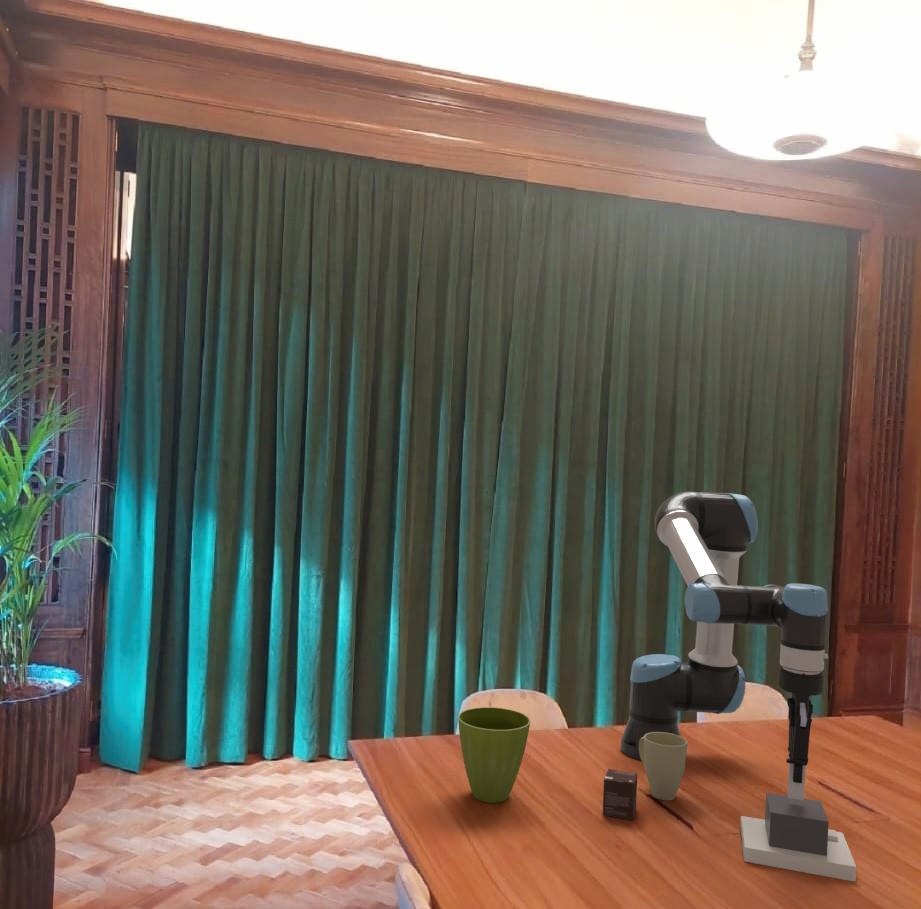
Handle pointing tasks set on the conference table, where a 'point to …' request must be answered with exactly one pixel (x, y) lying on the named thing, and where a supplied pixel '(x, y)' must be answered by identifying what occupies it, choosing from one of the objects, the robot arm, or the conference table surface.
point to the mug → (663, 762)
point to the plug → (796, 824)
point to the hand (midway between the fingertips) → (795, 797)
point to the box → (620, 794)
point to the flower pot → (492, 750)
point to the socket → (797, 853)
